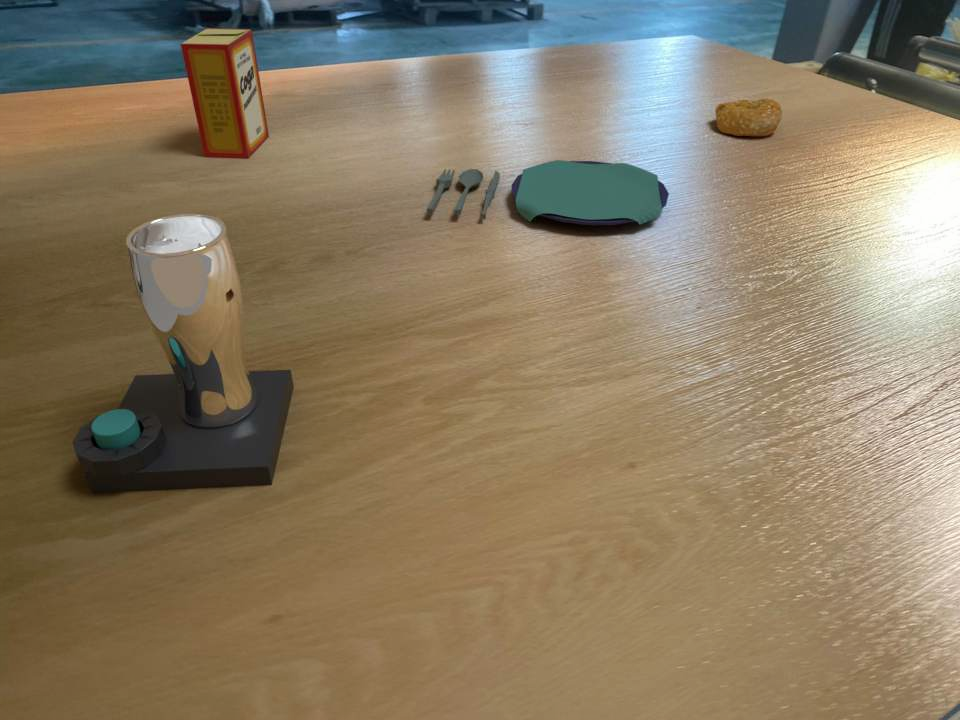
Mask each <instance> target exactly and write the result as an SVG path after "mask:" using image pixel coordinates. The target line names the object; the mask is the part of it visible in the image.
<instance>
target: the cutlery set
mask: <svg viewBox="0 0 960 720" xmlns="http://www.w3.org/2000/svg"><path fill="white" fill-rule="evenodd" d="M455 172H456V170H455V169H452V171H451V169H448V170H447V169H446V168H445V169H444V170H443V172H442V173H441V174H440V176H439V177H438V178H436V180H435V182H436V186H437V189H436V192H435V194H434V196H433V198H432V199H431V201H430V202H429V205H428V206H427V209H426V211H427V215H431V216H432V215H434V212H435V210H436V207H437V206H438V204H439V202H440V200H441V198H442V195H443V192H444V189H447V188H449V187H451V186H452V183H453V180H454V176H455ZM658 177H659V176H658V174H655V173H653V172H650V171H649V170H647V169H643V168H641V167H639V166H637V165H633V164H629V163H625V162H614V163H613V162H603V161H595V160H563V159H555V160H551V161H546V162H543V163H540V164H536V165H533V166H529V167H527V168H523V170H522V173H520V174H519V175H517V176H516V177H515V179H514V180H513V182H512V183H511V192H512V193H511V194H512V197H513V199H514V200H515V207H516V210H517V211H518V214H519V215H520V216H522V218H524V219H525V220H526V221H527V222H529V223H531V222H532V220H533V219H534V218H535V217H537V216H539V217H543V218H548V219H551V220H554V221H557V222H561V223H567V224H568V223H569V224H575V225H583V226H614V225H621V224H628V223H635V222H637V223H638V224H639V225H640V226H641V225H643V224H645V223H648V222H650V221H654V220H656V219H658V218H659V217H660V215H661V214H662V209H664V208H665V207H666V205H667V203H668V199H669V195H670V194H669V191H668V189H667V188H666V186H665V184H664V183H663V182H662V181H660V180H659V178H658ZM500 178H501V174H500V172H499V171H498V170H494V173H493V177H492V179H491V183H490V186H489V189H485V194H484V206H483V209H482V211H481V213H480V214H479V219H480V220H487V210H488V207H489V205H490V202H491V201H493V200H494V199H495V192H496V190H497V188H498V185H499V183H500ZM482 181H484V173H483V172H482V171H481V170H479V169H478V168H477V169H476V168H475V169H474V168H469V169H467V170H464V171H462V172H461V173H460V174H459V175H458V182H459V184H460V185H462V186H463V187H464V190H463V191H462V193H461V195H460V197H459V199H458V201H457V203H456V205H455V208H454V209H453V215H456V216H457V215H459V216H461V215H462V211H463V208H464V204H465V201H466V199H467V197H468V193H469V191H470V189H472V188H473V187H476V186H478V185H480V184H481V183H482Z"/></svg>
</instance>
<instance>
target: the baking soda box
mask: <svg viewBox="0 0 960 720" xmlns="http://www.w3.org/2000/svg"><path fill="white" fill-rule="evenodd" d="M255 47H256V46H255V42H254V37H253V29H252V28H251V29H249V28H209V27H208V28H206V29H204V30H201V32H199V33H197V34H195V35H193V36H192V37H190V38H188V39H187V40H184V41H183V42H181V43H180V49H181V54H182V58H183V62H184V66H185V67H184V68H185V71H186V75H187V80H188V84H189V89H190V94H191V99H192V103H193V108H194V113H195V118H196V122H197V127H198V131H199V137H200V142H201V145H202V150H203V155H204V157H205V158H220V159H221V158H222V159H223V158H226V159H250V158H251V156H252V155H253V154H254V153H255V152H256V151H258V149H259V148H260V147H261V146H262V145H263V144H264V142H266V140H268V138H269V137H270V134H269V128H268V121H267V115H266V109H265V104H264V103H265V102H264V97H263V91H262V86H261V78H260V74H259V67H258V59H257V55H256V48H255Z"/></svg>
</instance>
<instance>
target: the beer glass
mask: <svg viewBox="0 0 960 720" xmlns="http://www.w3.org/2000/svg"><path fill="white" fill-rule="evenodd" d="M125 244H126V247H127V252H128V256H129V261H130V268H131V271H132V277H133V281H134V285H135V288H136V293H137V297H138V299H139V303H140V305H141V309H142V311H143V314H144V316H145V319H146V321H147V323H148V325H149V327H150V330H151V331H152V334H153V335H154V337H155V339H156V341H157V343H158V345H159V346H160V349H161V350H162V352H163V354H164V356H165V358H166V359H167V362H168V363H169V366H170V367H171V370H172V372H173V374H174V375H175V378H176V383H177V389H178V407H179V412H180V415H181V417H182V418H183V419H184V420H185V421H186V422H187V423H189V424H191V425H194V426H197V427H203V428H215V427H222V426H226V425H230V424H232V423H235V422H237V421H239V420H241V419H243V418H244V417H246V416H247V415H248V414H249V413H251V412H252V410H253V409H254V408H255V406H256V405H257V402H258V392H257V389H256V387H255V385H254V382H253V380H252V378H251V376H250V374H249V371H250V370H249V369H248V366H247V362H246V355H245V340H244V339H245V321H244V320H245V317H244V315H245V314H244V310H245V309H244V295H243V289H242V283H241V278H240V273H239V270H238V264H237V261H236V258H235V254H234V251H233V247H232V245H231V242H230V239H229V234H228V231H227V226H226V224H225V223H224V222H223V220H221V219H220V218H218V217H216V216H212V215H209V214H202V213H177V214H171V215H166V216H165V215H164V216H162V217H161V216H160V217H158V218H154V219H151V220H148V221H146V222H144V223H142V224H140V225H138V226H137V227H135V228H134V229H132V230H131V231H130V232H129V233H128V235H127V236H126V239H125Z"/></svg>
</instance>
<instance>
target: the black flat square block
mask: <svg viewBox="0 0 960 720" xmlns="http://www.w3.org/2000/svg"><path fill="white" fill-rule="evenodd" d="M248 371H249V374H250V376H251V378H252V380H253V382H254V385H255V387H256V389H257V392H258V402H257V405H256V406H255V408H254V409H253V410H252V412H251V413H249V414H248V415H247V416H246V417H244V418H243V419H241V420H239V421H237V422H235V423H232V424H230V425H226V426H222V427H215V428H203V427H197V426H194V425H191V424H189V423H187V422H186V421H185V420H184V419H183V418H182V417H181V415H180V412H179V407H178V389H177V383H176V378H175V375H174V373H162V374H161V373H160V374H158V373H157V374H136V375H134V377H133V379H132V381H131V382H130V385H129V387H128V388H127V391H126V392H125V394H124V396H123V398H122V400H121V402H120V404H119V406H118V408H117V409H126V410H130V411H132V412H133V413H134V414H135V416H136V419H137V422H138V425H139V428H140V431H141V434H140V437H139V438H138V439H137V440H136V441H134V442H133V443H132V444H131V445H128V446H125V447H122V448H120V449H117V450H103V449H101V448H100V447H99V446H98V445H97V442H96V440H95V437H94V435H93V432H92V429H91V426H92V423H93V421H94V420H95V419H96V418H97V417H98V416H100V415H101V414H99V415H98V416H96V417H94V418H93V419H91V420H90V421H89V422H88V423H86V424H84V425H82V427H80V428H79V430H78V431H77V433H76V436H74V439H73V441H72V446H73V448H74V451H75V454H76V457H77V460H78V462H79V464H80V466H81V469H82V470H83V472H84V477H85V479H86V482H87V484H88V487H89V489H90V492H91V494H99V493H119V492H142V491H143V492H145V491H163V490H164V491H165V490H186V489H208V488H209V489H210V488H211V489H212V488H229V487H230V488H231V487H253V486H256V487H257V486H272V485H273V483H274V482H273V481H274V477H275V473H276V468H277V465H278V464H277V463H278V461H279V455H280V451H281V446H282V442H283V437H284V432H285V428H286V423H287V419H288V416H289V415H288V413H289V410H290V405H291V400H292V397H293V392H294V387H295V386H294V380H293V375H292V370H291V369H273V370H272V369H270V370H269V369H267V370H248Z"/></svg>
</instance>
